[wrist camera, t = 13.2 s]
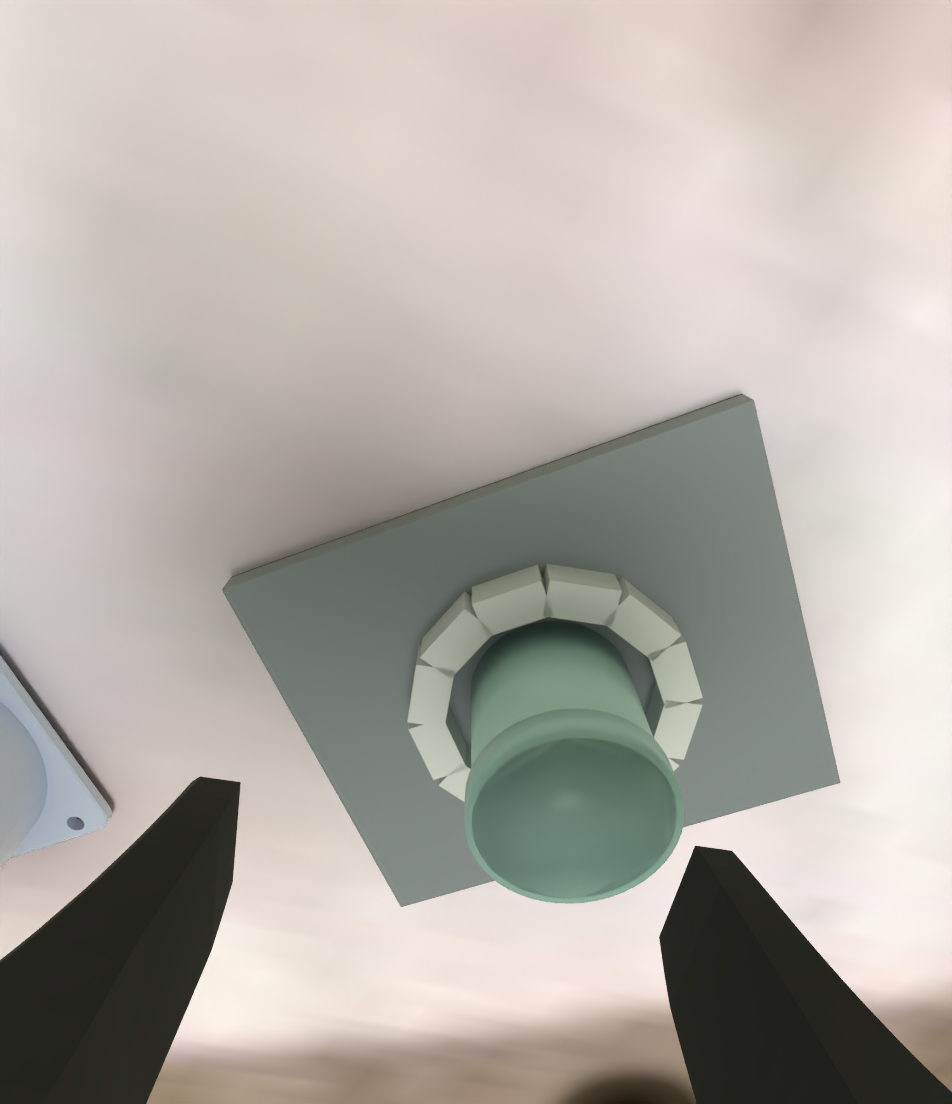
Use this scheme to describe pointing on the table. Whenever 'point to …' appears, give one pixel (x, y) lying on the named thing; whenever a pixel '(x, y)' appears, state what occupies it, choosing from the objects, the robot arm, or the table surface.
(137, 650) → the table surface
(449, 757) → the socket board
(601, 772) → the cup
